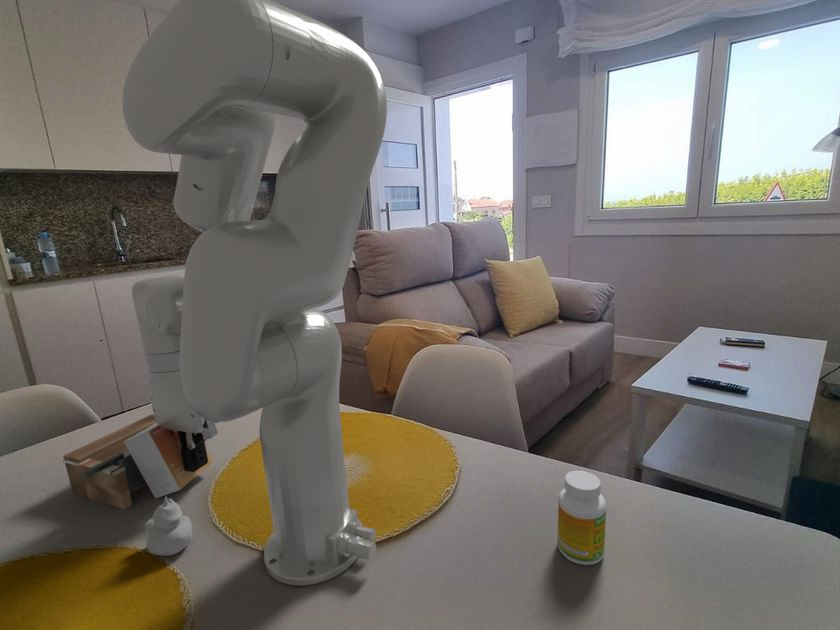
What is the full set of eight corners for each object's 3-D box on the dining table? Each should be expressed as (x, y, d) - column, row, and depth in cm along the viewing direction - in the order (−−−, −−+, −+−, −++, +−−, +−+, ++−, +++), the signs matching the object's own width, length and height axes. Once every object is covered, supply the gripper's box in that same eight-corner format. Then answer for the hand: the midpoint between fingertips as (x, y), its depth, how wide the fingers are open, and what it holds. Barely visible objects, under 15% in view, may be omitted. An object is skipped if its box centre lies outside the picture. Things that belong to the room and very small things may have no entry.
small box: (180, 491, 66) (147, 431, 65) (154, 499, 68) (121, 441, 67) (215, 462, 74) (185, 408, 73) (191, 470, 76) (162, 418, 74)
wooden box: (205, 457, 80) (199, 422, 78) (123, 510, 66) (113, 469, 64) (158, 447, 84) (151, 414, 83) (71, 495, 70) (61, 456, 69)
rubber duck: (173, 568, 54) (161, 512, 52) (134, 558, 56) (121, 504, 54) (206, 538, 59) (196, 486, 57) (169, 529, 61) (159, 479, 59)
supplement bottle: (599, 573, 50) (602, 499, 48) (552, 556, 53) (553, 485, 50) (607, 543, 54) (610, 474, 52) (563, 528, 57) (565, 462, 55)
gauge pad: (190, 455, 79) (184, 422, 77) (96, 513, 64) (86, 473, 62) (179, 453, 80) (173, 420, 78) (85, 509, 65) (75, 470, 63)
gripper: (231, 353, 66) (249, 461, 70) (163, 348, 72) (183, 449, 76) (189, 370, 59) (212, 488, 63) (118, 363, 65) (143, 472, 69)
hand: (196, 466), depth 69 cm, fingers closed
